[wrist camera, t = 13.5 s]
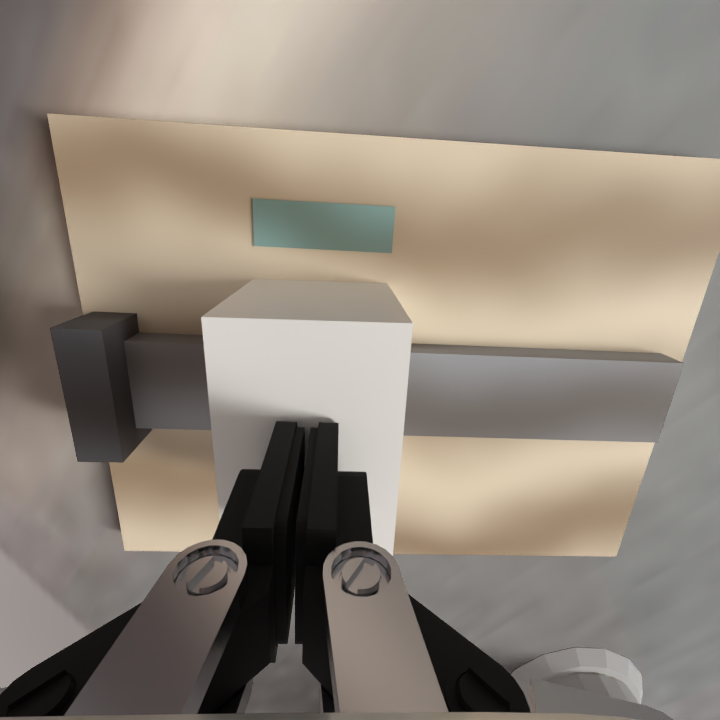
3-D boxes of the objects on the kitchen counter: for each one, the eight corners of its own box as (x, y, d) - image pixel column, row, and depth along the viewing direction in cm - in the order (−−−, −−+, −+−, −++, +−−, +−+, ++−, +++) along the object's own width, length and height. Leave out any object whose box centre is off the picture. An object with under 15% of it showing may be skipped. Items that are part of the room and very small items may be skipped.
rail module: (253, 278, 15) (201, 316, 10) (387, 283, 15) (412, 323, 10) (262, 474, 18) (226, 592, 12) (375, 475, 18) (389, 592, 13)
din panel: (70, 121, 14) (-15, 92, 11) (720, 164, 16) (825, 151, 12) (137, 531, 20) (95, 595, 17) (601, 538, 22) (649, 598, 18)
